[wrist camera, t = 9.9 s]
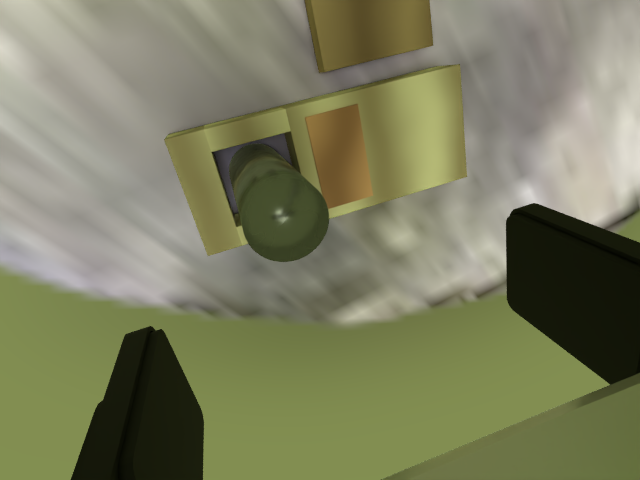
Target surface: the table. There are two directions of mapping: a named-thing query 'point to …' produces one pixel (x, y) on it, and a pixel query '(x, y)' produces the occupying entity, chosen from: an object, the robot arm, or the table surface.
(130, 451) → the robot arm
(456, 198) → the table surface
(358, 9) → the tab
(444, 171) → the block with square hole
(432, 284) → the table surface
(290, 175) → the peg
